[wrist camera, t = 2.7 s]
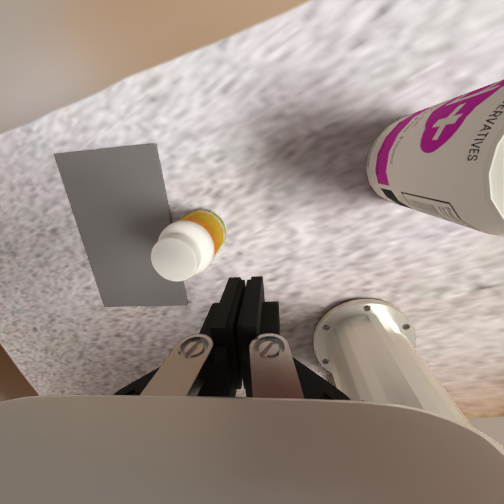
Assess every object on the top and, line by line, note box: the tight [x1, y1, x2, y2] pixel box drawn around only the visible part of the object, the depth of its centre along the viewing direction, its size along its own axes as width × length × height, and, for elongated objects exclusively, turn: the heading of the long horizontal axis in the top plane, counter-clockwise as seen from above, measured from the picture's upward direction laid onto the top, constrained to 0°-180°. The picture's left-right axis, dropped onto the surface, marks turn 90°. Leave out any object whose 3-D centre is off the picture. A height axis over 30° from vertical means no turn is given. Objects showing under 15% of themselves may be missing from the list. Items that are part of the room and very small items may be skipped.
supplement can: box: [366, 80, 504, 236], centre depth 17 cm, size 8×8×15 cm
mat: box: [54, 144, 188, 307], centre depth 30 cm, size 20×12×1 cm, turn 5°
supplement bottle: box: [151, 209, 227, 282], centre depth 25 cm, size 5×5×10 cm
